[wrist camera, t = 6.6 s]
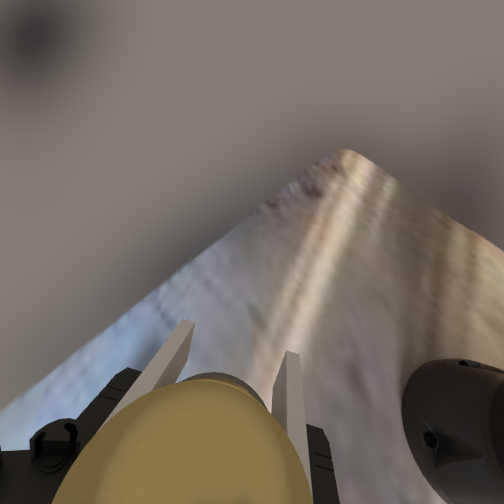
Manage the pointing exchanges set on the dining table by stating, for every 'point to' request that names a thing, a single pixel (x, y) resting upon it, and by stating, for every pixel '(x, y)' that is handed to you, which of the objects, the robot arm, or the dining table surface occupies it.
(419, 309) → the dining table surface
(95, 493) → the gold cylinder with ring
